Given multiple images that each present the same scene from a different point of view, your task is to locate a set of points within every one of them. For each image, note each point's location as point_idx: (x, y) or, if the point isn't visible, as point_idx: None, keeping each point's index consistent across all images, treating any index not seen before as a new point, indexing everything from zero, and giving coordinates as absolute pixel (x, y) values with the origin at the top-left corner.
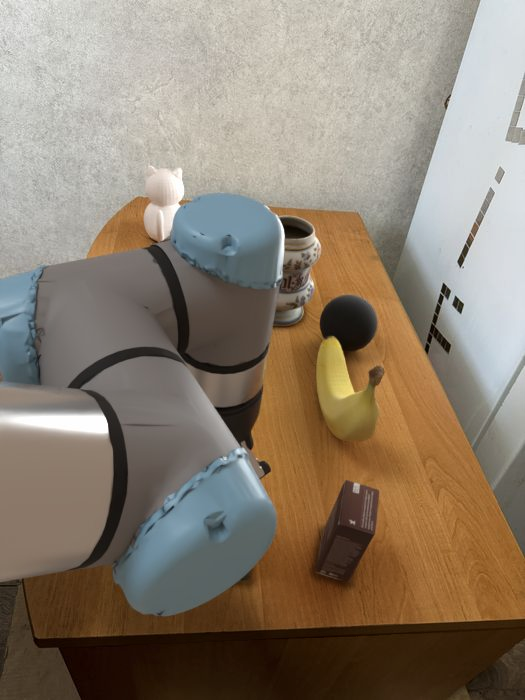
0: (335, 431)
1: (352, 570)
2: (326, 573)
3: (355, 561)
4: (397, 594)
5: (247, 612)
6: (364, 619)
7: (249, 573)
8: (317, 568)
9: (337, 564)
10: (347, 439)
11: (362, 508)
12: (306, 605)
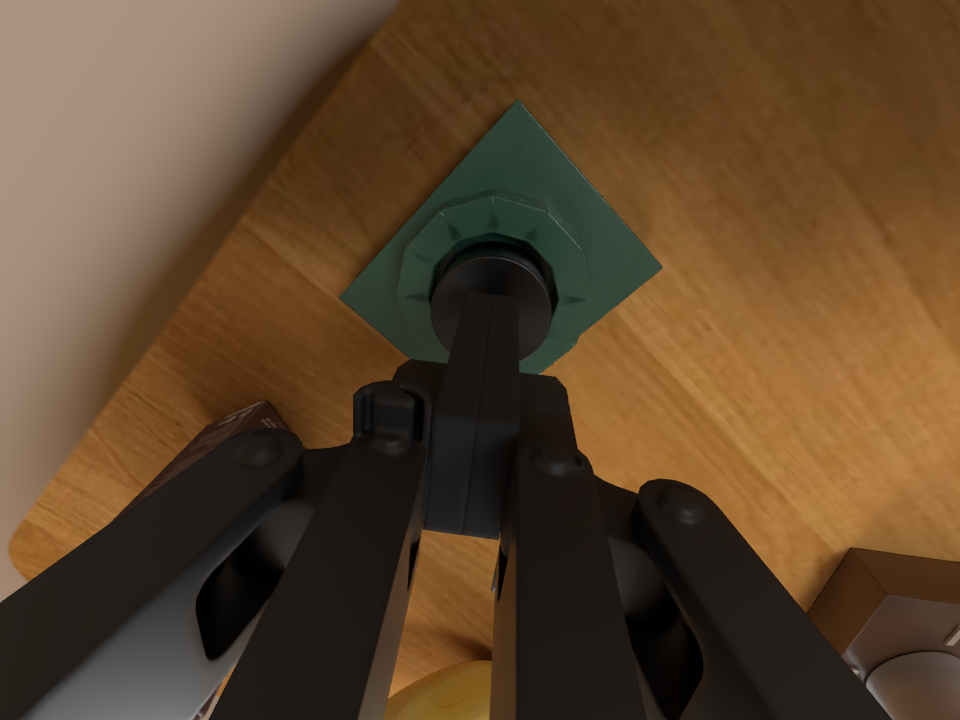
0: (438, 701)
1: (171, 462)
2: (241, 413)
3: (141, 493)
4: (133, 464)
5: (292, 216)
6: (127, 386)
7: (341, 294)
8: (255, 411)
9: (197, 454)
10: (387, 714)
11: None
12: (220, 328)
